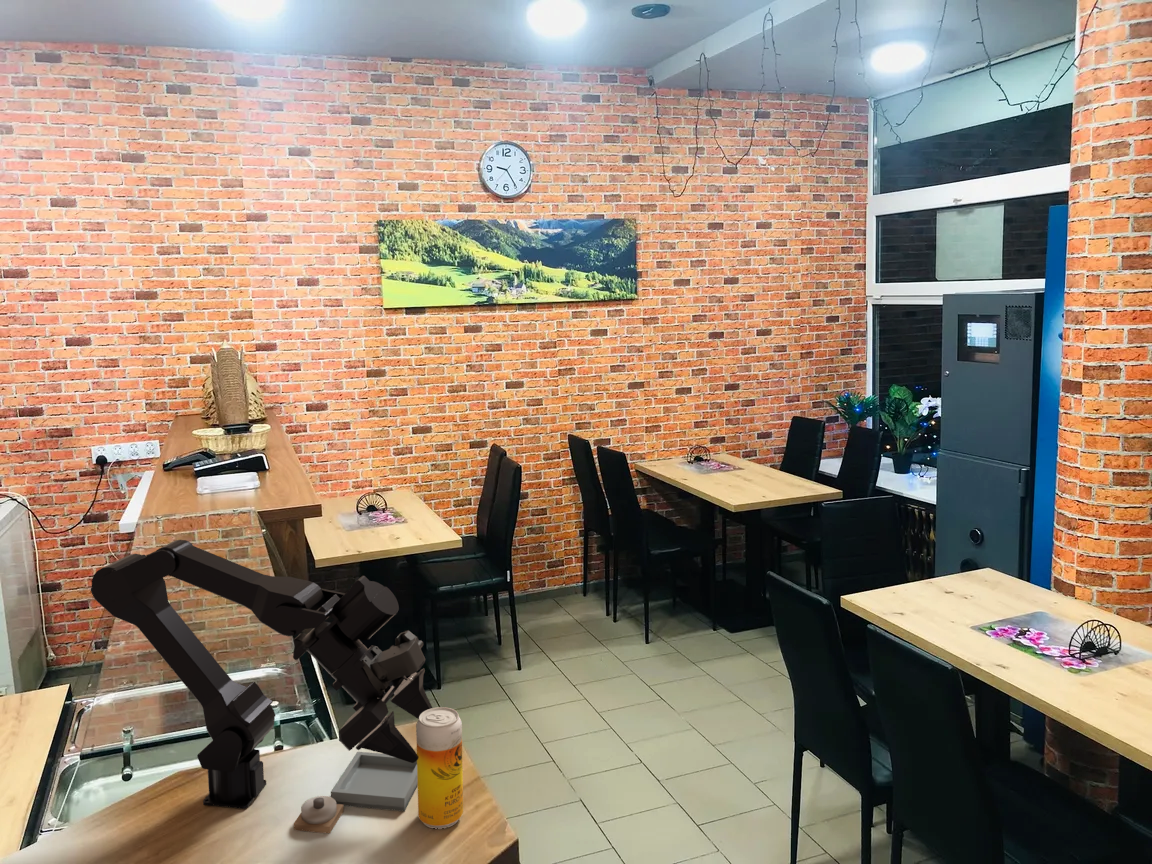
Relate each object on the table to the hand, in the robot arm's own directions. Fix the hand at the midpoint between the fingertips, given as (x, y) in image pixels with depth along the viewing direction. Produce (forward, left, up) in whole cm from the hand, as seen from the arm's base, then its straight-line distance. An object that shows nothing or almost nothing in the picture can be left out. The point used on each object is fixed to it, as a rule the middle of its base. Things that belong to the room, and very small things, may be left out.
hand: (427, 742), depth 120 cm
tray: (-9, +6, -11) cm, 15 cm away
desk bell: (-14, -3, -11) cm, 18 cm away
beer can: (+2, 0, -11) cm, 11 cm away
